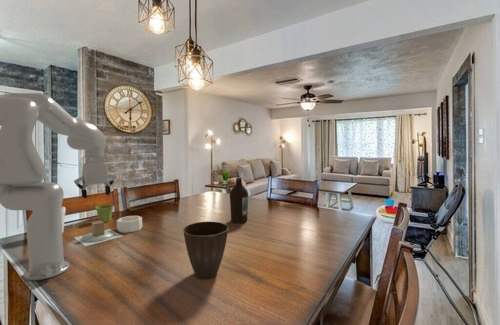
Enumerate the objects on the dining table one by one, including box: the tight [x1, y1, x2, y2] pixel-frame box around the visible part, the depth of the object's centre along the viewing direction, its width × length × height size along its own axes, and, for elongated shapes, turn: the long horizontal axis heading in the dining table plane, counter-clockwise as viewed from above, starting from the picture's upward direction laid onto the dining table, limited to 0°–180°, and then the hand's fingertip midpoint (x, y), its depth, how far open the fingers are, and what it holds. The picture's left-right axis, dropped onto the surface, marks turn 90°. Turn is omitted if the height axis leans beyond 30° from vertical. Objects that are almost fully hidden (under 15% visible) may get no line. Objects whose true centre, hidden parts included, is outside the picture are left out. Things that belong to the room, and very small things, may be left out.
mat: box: [73, 228, 123, 247], centre depth 123 cm, size 16×16×1 cm
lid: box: [82, 220, 115, 242], centre depth 122 cm, size 13×13×7 cm
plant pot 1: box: [95, 204, 115, 223], centre depth 150 cm, size 9×9×9 cm
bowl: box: [116, 215, 143, 234], centre depth 134 cm, size 11×11×6 cm
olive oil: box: [229, 177, 249, 224], centre depth 148 cm, size 11×11×25 cm
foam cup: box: [61, 206, 66, 234], centre depth 127 cm, size 10×9×13 cm
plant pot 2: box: [182, 221, 229, 280], centre depth 88 cm, size 15×15×16 cm
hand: (96, 196), depth 121 cm, fingers open, 9 cm apart
